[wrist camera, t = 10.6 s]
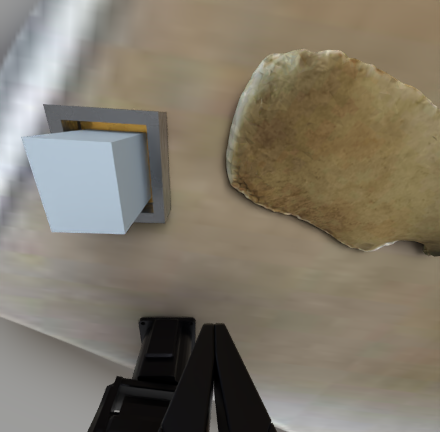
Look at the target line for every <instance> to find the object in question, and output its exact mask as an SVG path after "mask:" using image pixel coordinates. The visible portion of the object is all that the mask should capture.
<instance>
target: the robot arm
mask: <svg viewBox="0 0 440 432" xmlns="http://www.w3.org/2000/svg"><path fill="white" fill-rule="evenodd" d="M195 327H196V320H195V319H194V318H141V319H140V321H139V329H140V335H141V342H142V346H141V350H140V353H139V356H138V360H137V363H136V366H135V370H134V373H133V377H132V379H126V378H123V377H119V376H117V377H116V380H115V382H114V383H113V384H111V385H109V386H107V388H106V390H105V393H104V395H103V398H102V401H101V403H100V406H99V408H98V410H97V413H96V415H95V417H94V419H93V421H92V423H91V426H90V427H89V429H88V432H209V430H210V419H211V409H212V398H213V385H214V394H215V404H216V413H217V422H218V431H219V432H277V431H276V429H275V427H274V425H273V423H271V419H270V417H269V415H268V413H267V410H266V408H265V406H264V404H263V402H262V400H261V398H260V396H259V394H258V392H257V390H256V388H255V386H254V384H253V382H252V379H251V377H250V375H249V373H248V371H247V369H246V367H245V365H244V363H243V361H242V359H241V357H240V355H239V353H238V350H237V348H236V346H235V344H234V342H233V340H232V338H231V336H230V334H229V332H228V330H227V328H226V326H225V324H223V323H216V324H212V323H207V324H204V325H203V326H202V329H201V331H200V333H199V336H198V338H197V340H196V343H195ZM114 410H120V412H114Z"/></svg>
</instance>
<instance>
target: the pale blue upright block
mask: <svg viewBox="0 0 440 432" xmlns="http://www.w3.org/2000/svg"><path fill="white" fill-rule="evenodd" d="M21 138H22V141H23V144H24V147H25V150H26V154H27V157H28V160H29V163H30V166H31V169H32V172H33V175H34V178H35V181H36V185H37V188H38V191H39V194H40V197H41V200H42V203H43V206H44V209H45V213H46V216H47V219H48V222H49V225H50V228H51V231H52V232H71V233H102V234H125V233H126V232H127V231H128V229H129V228H130V226H131V225H132V224H133V222H134V221H135V219H136V218H137V217H138V215H139V214H140V212H141V211H142V210H143V208H144V207H145V205H146V204H147V203H148V201H149V200H150V198H151V188H150V176H149V163H148V151H147V139H146V133H144V132H128V131H112V130H96V129H85V130H77V131H69V132H60V133H52V134H44V135H35V136H27V137H21Z"/></svg>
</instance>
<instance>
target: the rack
mask: <svg viewBox="0 0 440 432" xmlns="http://www.w3.org/2000/svg"><path fill="white" fill-rule="evenodd" d="M43 106H44V109H45V113H46V117H47V121H48V124H49V128H50V132H51V134H52V133H60V132H69V131H77V130H85V129H96V130H112V131H128V132H144V133H146V139H147V151H148V163H149V176H150V188H151V198H150V200H149V201H148V203H147V204H146V205H145V207H144V208H143V210H142V211H141V212H140V214H139V215H138V217H137V218H136V219H135V221H134V222H144V223H165V222H166V219H167V217H168V215H169V212H170V210H171V200H170V177H169V155H168V133H167V112H156V111H140V110H125V109H109V108H94V107H79V106H63V105H46V104H43Z"/></svg>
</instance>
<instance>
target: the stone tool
mask: <svg viewBox="0 0 440 432" xmlns="http://www.w3.org/2000/svg"><path fill="white" fill-rule="evenodd" d="M226 165H227V173H228V177H229V180H230V184H231V185H232V186H233V187H234V188H236V189H237V190H238V191H239V192H241V193H243V194H244V195H245V196H246V198H248V199H250V200H252V201H253V202H254V203H255V204H258V205H261V206H263V207H265V208H266V209H269V210H272V211H273V212H281V213H283V214H284V215H290V214H292V215H293V216H297V217H298V219H301V220H305V221H307V222H309V223H310V224H313V225H314V226H316V227H318V228H320V229H321V230H324V231H325V232H327V233H328V234H330V235H331V236H333V237H335V238H336V239H337V240H338V241H340V242H341V243H343V244H345V245H347V246H349V247H351V248H358V249H359V250H363V251H365V252H367V251H375V250H377V249H379V248H381V247H382V246H384V245H385V246H389V245H390V244H393V243H395V242H396V241H399V240H407V241H416V242H419V243H422V244H424V247H423V252H424V253H425V254H426V255H428V256H430V255H433V256H440V109H439V108H437V106H436V105H434V104H432V102H431V100H429V99H428V98H426V97H425V96H424V95H423V94H422V93H421V92H420V91H418V90H417V89H416V88H414V87H412V86H410V85H407V84H404V83H401V82H399V81H398V80H397V79H395V78H394V77H392V76H391V75H389V74H387V73H386V72H384V71H381V70H379V69H377V68H376V67H375V66H374V65H371V64H366V63H363V62H361V61H359V60H357V59H354V58H348V57H347V56H346V54H344V53H343V52H341V51H340V50H325V51H320V52H316V53H314V52H311V51H308V50H306V49H300V50H295V51H291V52H288V53H285V54H269V55H268V56H267V57H266V58H265V59H264V60H263V61H262V62H261V63H260V65H259V66H258V68H257V69H256V70H255V72H254V73H253V75H252V77H251V80H250V81H249V82H248V84H247V86H246V88H245V89H244V91H243V93H242V95H241V97H240V99H239V102H238V105H237V109H236V112H235V115H234V118H233V122H232V125H231V130H230V136H229V141H228V147H227V152H226Z"/></svg>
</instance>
